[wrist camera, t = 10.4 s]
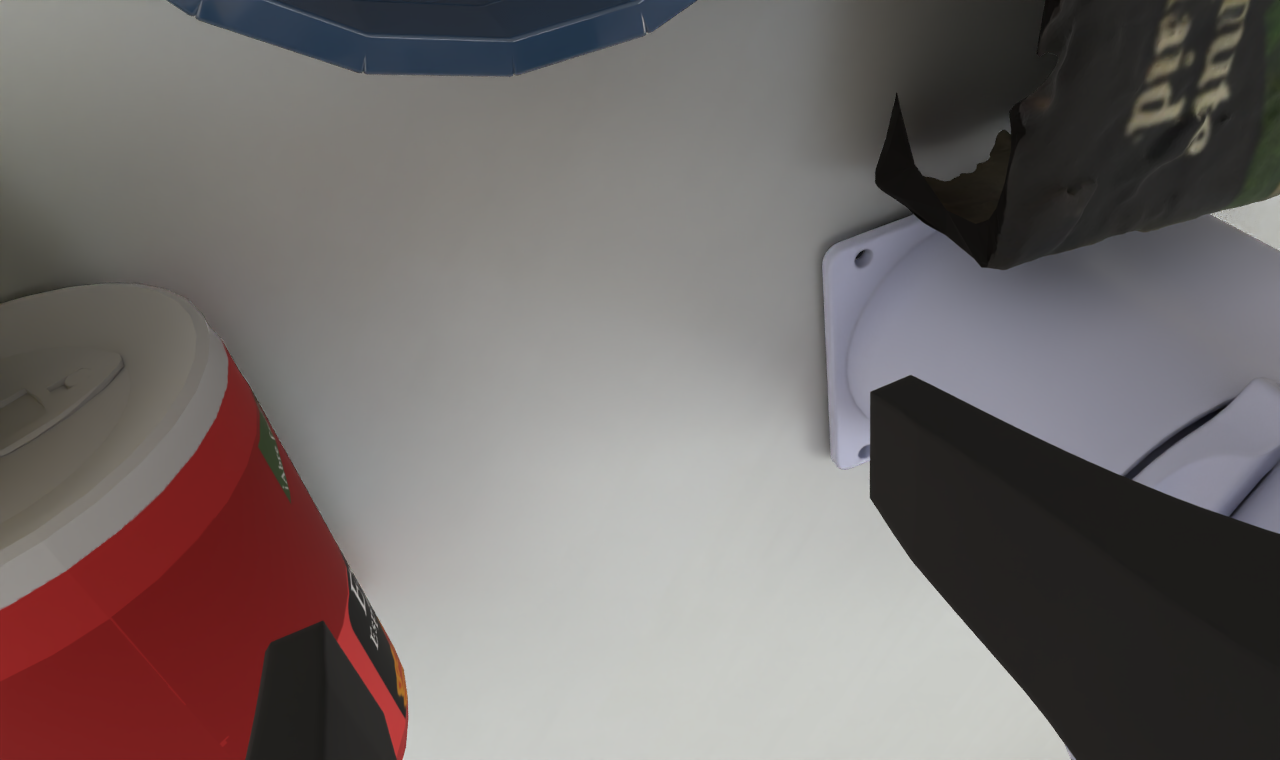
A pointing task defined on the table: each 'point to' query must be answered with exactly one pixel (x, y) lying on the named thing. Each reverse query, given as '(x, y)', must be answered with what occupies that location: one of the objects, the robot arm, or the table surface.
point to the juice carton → (1115, 131)
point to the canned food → (152, 538)
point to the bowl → (438, 31)
